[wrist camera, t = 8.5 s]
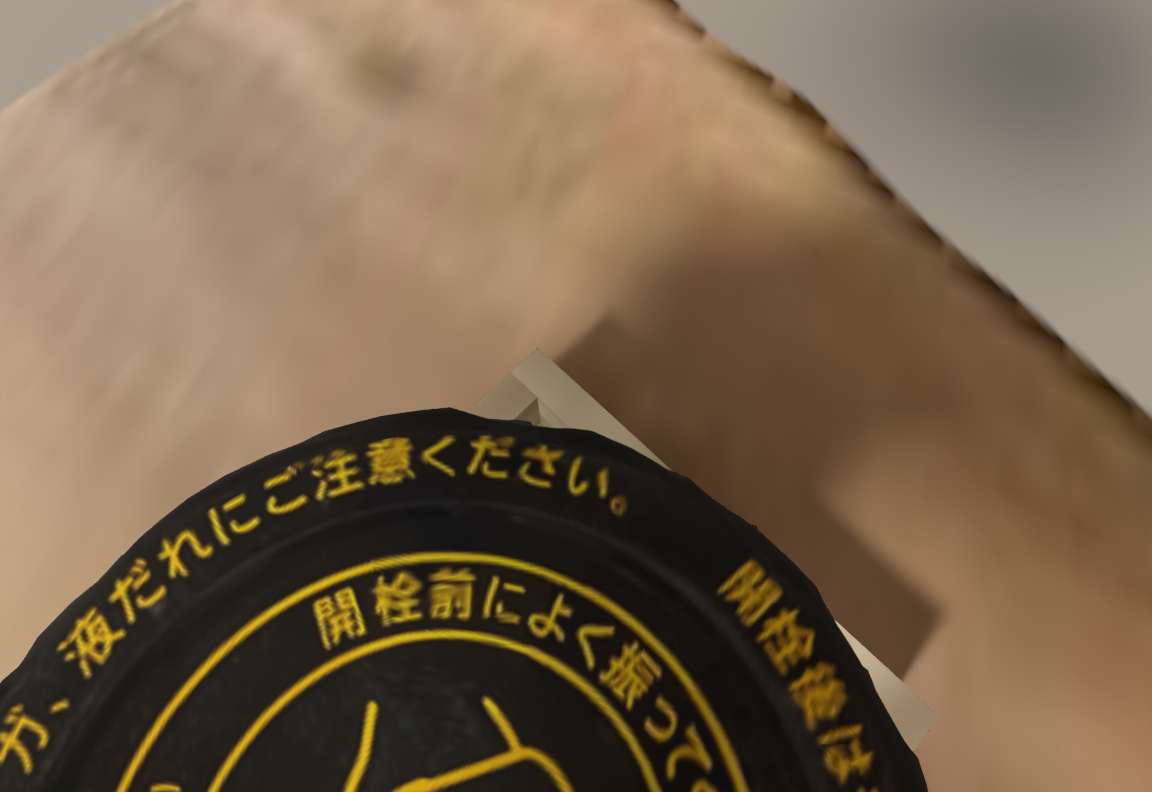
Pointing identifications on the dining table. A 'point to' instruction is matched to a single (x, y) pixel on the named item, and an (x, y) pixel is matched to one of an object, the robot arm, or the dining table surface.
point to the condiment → (449, 634)
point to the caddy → (564, 404)
